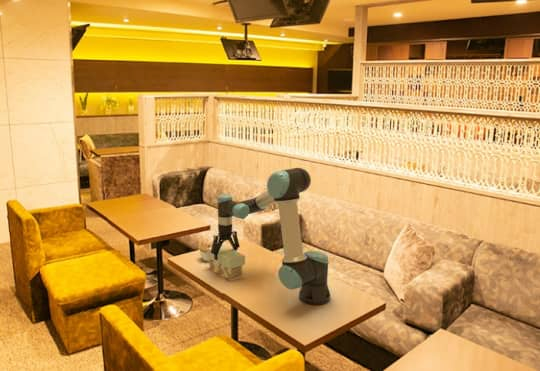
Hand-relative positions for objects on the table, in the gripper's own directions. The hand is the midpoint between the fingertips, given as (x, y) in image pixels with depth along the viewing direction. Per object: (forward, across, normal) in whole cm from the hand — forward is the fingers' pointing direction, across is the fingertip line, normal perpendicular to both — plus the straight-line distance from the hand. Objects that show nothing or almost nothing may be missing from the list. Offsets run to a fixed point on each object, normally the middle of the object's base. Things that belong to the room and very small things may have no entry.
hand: (225, 262), depth 250 cm
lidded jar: (+6, -3, -22) cm, 23 cm away
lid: (-1, 0, 0) cm, 1 cm away
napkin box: (+6, 0, 0) cm, 6 cm away
